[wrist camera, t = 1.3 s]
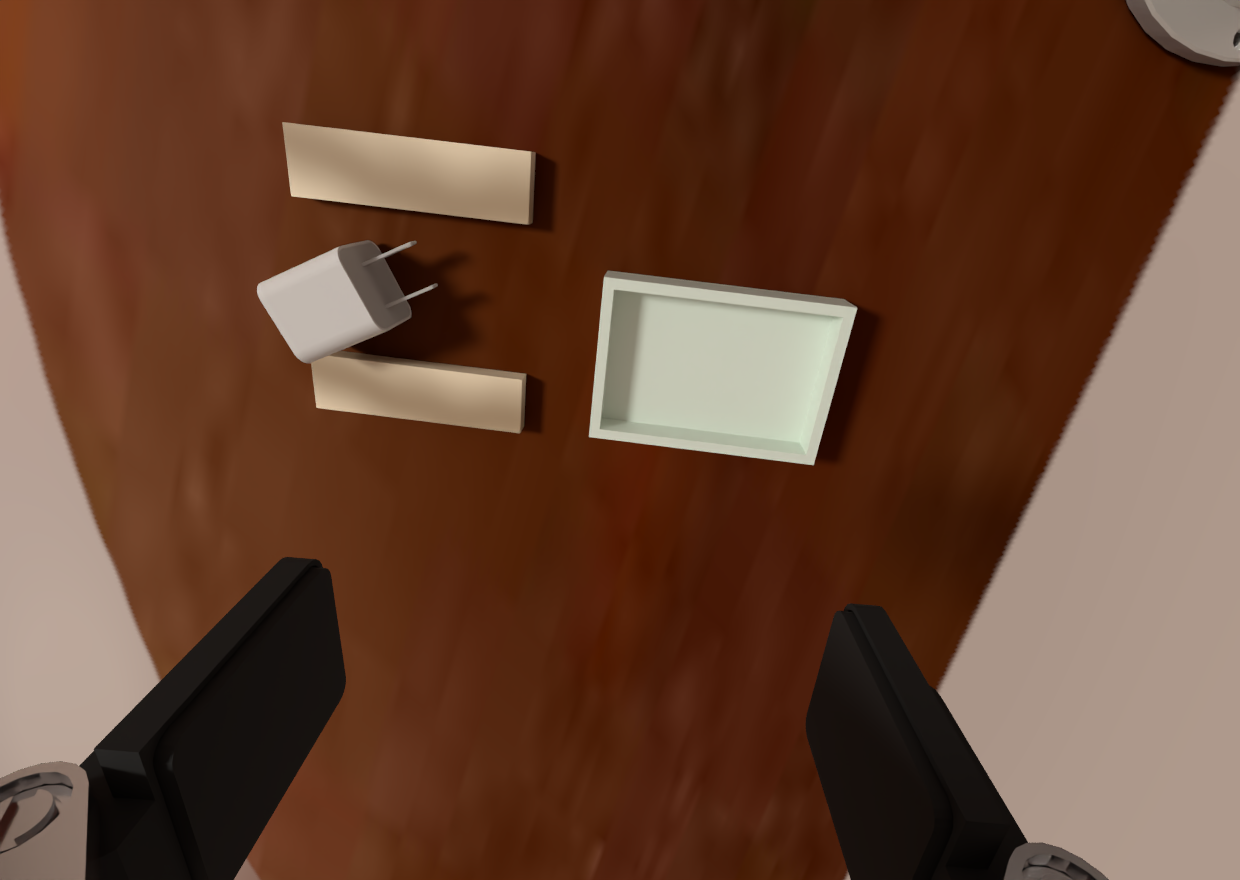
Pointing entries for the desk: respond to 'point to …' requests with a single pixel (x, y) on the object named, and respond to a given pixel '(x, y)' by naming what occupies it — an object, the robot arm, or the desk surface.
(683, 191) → the desk surface
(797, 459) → the tray
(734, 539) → the desk surface
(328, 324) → the usb wall charger
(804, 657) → the desk surface
